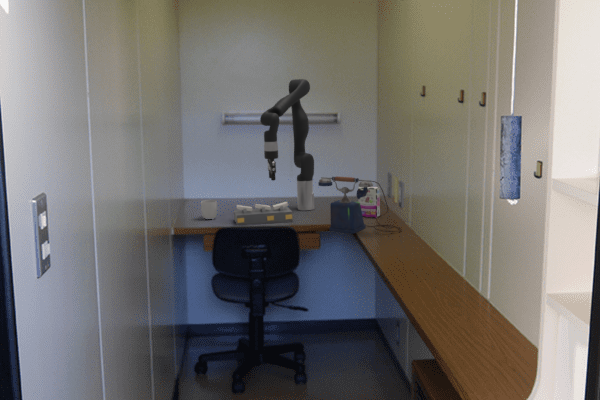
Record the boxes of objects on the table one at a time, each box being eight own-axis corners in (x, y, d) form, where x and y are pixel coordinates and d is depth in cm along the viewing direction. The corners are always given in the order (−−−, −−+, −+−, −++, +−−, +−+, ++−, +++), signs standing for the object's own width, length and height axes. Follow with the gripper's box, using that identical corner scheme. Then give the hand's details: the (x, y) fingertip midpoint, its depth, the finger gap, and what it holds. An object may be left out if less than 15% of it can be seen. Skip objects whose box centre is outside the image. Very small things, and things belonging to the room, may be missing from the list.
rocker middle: (269, 208, 348) (269, 205, 348) (270, 209, 345) (270, 207, 344) (254, 206, 347) (255, 203, 346) (255, 207, 343) (256, 205, 342)
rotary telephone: (407, 228, 322) (407, 175, 317) (390, 237, 303) (390, 181, 298) (335, 220, 343) (334, 170, 337) (315, 229, 324) (314, 176, 319)
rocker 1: (250, 209, 346) (251, 206, 346) (251, 211, 343) (252, 208, 342) (236, 207, 344) (236, 204, 344) (237, 209, 341) (237, 206, 340)
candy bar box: (380, 216, 351) (380, 186, 348) (377, 218, 346) (377, 188, 343) (361, 214, 356) (361, 185, 353) (358, 216, 352) (357, 187, 349)
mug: (219, 219, 353) (218, 201, 351) (203, 221, 350) (202, 203, 348) (214, 215, 365) (213, 198, 363) (199, 216, 362) (198, 199, 360)
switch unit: (287, 216, 357) (287, 202, 355) (292, 221, 343) (292, 207, 342) (234, 220, 351) (233, 205, 349) (237, 225, 337) (236, 210, 335)
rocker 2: (287, 204, 350) (286, 201, 350) (288, 205, 346) (287, 202, 346) (273, 208, 349) (272, 205, 349) (274, 209, 345) (273, 206, 345)
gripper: (279, 150, 340) (281, 180, 343) (275, 148, 354) (277, 176, 357) (266, 151, 339) (267, 181, 342) (262, 148, 352) (263, 177, 355)
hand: (272, 179), depth 349 cm, fingers open, 8 cm apart
